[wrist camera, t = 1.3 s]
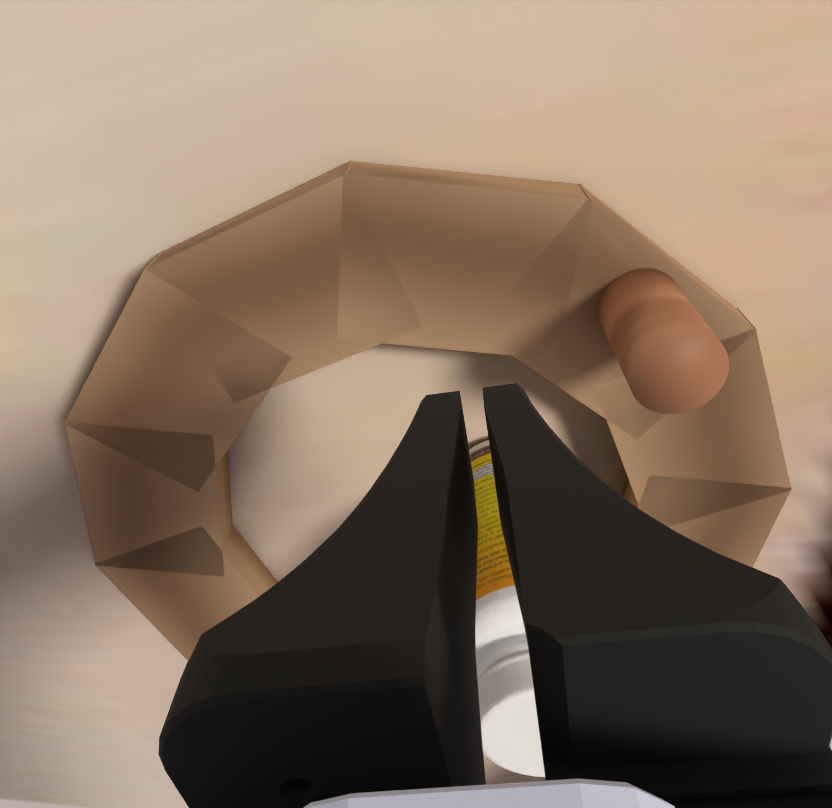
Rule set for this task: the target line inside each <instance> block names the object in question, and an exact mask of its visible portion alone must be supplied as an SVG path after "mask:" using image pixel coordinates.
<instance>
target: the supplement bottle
mask: <svg viewBox="0 0 832 808" xmlns="http://www.w3.org/2000/svg"><path fill="white" fill-rule="evenodd" d="M469 453H470V459H471V465H472V472H473V478H474V487H475V498H476V509H477V520H478V549H477V585H476V620H475V647H476V666H477V680H478V693H479V707H480V720H481V733H482V746H483V753H484V754H485V755H486V756H487V757H488V758H489V759H490V760H491V761H493V762H494V763H495V764H497V765H499V766H501V767H503V768H504V769H507V770H509V771H512V772H515V773H519V774H523V775H528V776H535V777H545V772H544V764H543V757H542V749H541V741H540V734H539V726H538V718H537V711H536V703H535V695H534V688H533V680H532V672H531V665H530V657H529V650H528V644H527V639H526V633H525V628H524V623H523V619H522V614H521V610H520V606H519V601H518V597H517V593H516V588H515V584H514V580H513V575H512V571H511V567H510V562H509V558H508V553H507V549H506V545H505V540H504V536H503V532H502V527H501V522H500V515H499V508H498V501H497V494H496V487H495V480H494V472H493V465H492V458H491V451H490V444H489V440H487V441H484V442H482V443H480V444H478V445H476V446H474V447H473V448H471V449H470V450H469Z"/></svg>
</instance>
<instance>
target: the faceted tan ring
mask: <svg viewBox="0 0 832 808" xmlns="http://www.w3.org/2000/svg"><path fill="white" fill-rule="evenodd" d="M756 331H757V330H756V329H755V327H754V326H753V325H752V324H751V323H750V322H749V321H748V319H747V318H746V317H745V316H744V315H743V314H742V313H741V311H740V310H739V309H738V308H736V307H734V306H733V305H732V304H731V303H729V302H728V301H727V300H726V299H724V298H723V297H722V296H721V295H719V294H718V293H717V292H715V291H714V290H713V289H712V288H710V287H709V286H708V285H707V284H705V283H704V282H703V281H702V280H700V279H699V278H698V277H697V276H695V275H694V274H693V273H692V272H690V271H689V270H688V269H686V268H685V267H684V266H683V265H681V264H680V263H679V262H678V261H676V260H675V259H674V258H673V257H671V256H670V255H669V254H668V253H666V252H665V251H664V250H663V249H661V248H660V247H659V246H657V245H656V244H655V243H654V242H652V241H651V240H650V239H649V238H647V237H646V236H645V235H644V234H642V233H641V232H640V231H639V230H637V229H636V228H635V227H634V226H632V225H631V224H630V223H628V222H627V221H626V220H625V219H623V218H622V217H621V216H620V215H618V214H617V213H616V212H615V211H613V210H612V209H611V208H610V207H608V206H607V205H606V204H605V203H603V202H602V201H601V200H599V199H598V198H597V197H596V196H594V195H593V194H592V193H591V192H589V191H588V190H587V189H586V188H584V187H583V185H581V184H571V183H561V182H551V181H541V180H531V179H522V178H512V177H502V176H492V175H482V174H472V173H463V172H453V171H443V170H433V169H423V168H414V167H404V166H394V165H384V164H374V163H364V162H355V161H349V162H348V163H346V164H344V165H342V166H340V167H338V168H336V169H333V170H331V171H329V172H327V173H325V174H323V175H321V176H319V177H317V178H315V179H313V180H311V181H309V182H306V183H304V184H302V185H300V186H298V187H296V188H294V189H292V190H290V191H288V192H286V193H284V194H282V195H279V196H277V197H275V198H273V199H271V200H269V201H267V202H265V203H263V204H261V205H259V206H257V207H255V208H253V209H250V210H248V211H246V212H244V213H242V214H240V215H238V216H236V217H234V218H232V219H230V220H228V221H226V222H223V223H221V224H219V225H217V226H215V227H213V228H211V229H209V230H207V231H205V232H203V233H201V234H199V235H196V236H194V237H192V238H190V239H188V240H186V241H184V242H182V243H180V244H178V245H176V246H174V247H172V248H170V249H167V250H165V251H163V252H161V253H159V254H158V255H157V257H156V258H155V259H154V260H153V261H152V262H151V263H150V264H149V265H148V266H147V267H146V268H145V269H144V270H143V273H142V274H141V276H140V278H139V280H138V282H137V284H136V286H135V288H134V290H133V292H132V294H131V296H130V298H129V300H128V301H127V303H126V305H125V307H124V309H123V311H122V313H121V315H120V317H119V319H118V321H117V323H116V325H115V326H114V328H113V330H112V332H111V334H110V336H109V338H108V340H107V342H106V344H105V346H104V348H103V350H102V352H101V353H100V355H99V357H98V359H97V361H96V363H95V365H94V367H93V369H92V371H91V373H90V375H89V377H88V378H87V380H86V382H85V384H84V386H83V388H82V390H81V392H80V394H79V396H78V398H77V400H76V402H75V404H74V405H73V407H72V409H71V411H70V413H69V415H68V417H67V419H66V420H65V421H64V424H65V427H66V432H67V437H68V441H69V446H70V450H71V455H72V459H73V464H74V468H75V473H76V478H77V482H78V487H79V491H80V496H81V500H82V505H83V510H84V514H85V519H86V523H87V528H88V532H89V537H90V541H91V546H92V551H93V555H94V560H95V565H96V566H97V567H98V568H99V569H100V570H101V571H102V572H103V573H104V574H105V575H106V576H107V577H108V578H109V579H110V580H111V581H112V582H113V583H114V584H115V585H116V586H117V587H118V589H119V590H120V591H121V592H122V593H123V594H124V595H125V596H126V597H127V598H128V599H129V600H130V601H131V602H132V603H133V604H134V605H135V606H136V607H137V608H138V609H139V610H140V611H141V612H142V613H143V614H144V615H145V617H146V618H147V619H148V620H149V621H150V622H151V623H152V624H153V625H154V626H155V627H156V628H157V629H158V630H159V631H160V632H161V633H162V634H163V635H164V636H165V637H166V638H167V639H168V640H169V641H170V642H171V643H172V645H173V646H174V647H175V648H176V649H177V650H178V651H179V652H180V653H181V654H182V655H183V656H184V657H185V658H186V659H187V660H188V661H189V659H190V657H191V655H192V653H193V651H194V649H195V647H196V645H197V642H198V640H199V638H200V636H201V634H202V633H204V632H206V631H207V630H209V629H211V628H212V627H214V626H215V625H217V624H218V623H220V622H222V621H223V620H225V619H226V618H228V617H229V616H231V615H232V614H234V613H235V612H237V611H238V610H240V609H241V608H243V607H244V606H246V605H248V604H249V603H251V602H252V601H253V600H255V599H256V598H258V597H259V596H260V595H262V594H263V593H265V592H266V591H267V590H269V589H270V588H271V587H272V586H274V585H275V584H276V583H278V582H277V580H276V579H275V578H274V577H273V575H272V574H271V573H270V571H269V570H268V569H267V568H266V566H265V565H264V564H263V563H262V561H261V560H260V559H259V558H258V556H257V555H256V554H255V552H254V551H253V550H252V549H251V547H250V546H249V545H248V544H247V542H246V541H245V540H244V538H243V537H242V536H241V535H240V533H239V532H238V531H237V530H236V528H235V527H234V526H233V525H232V514H231V499H230V484H229V470H228V455H227V450H228V449H229V447H230V446H231V445H232V443H233V442H234V440H235V439H236V437H237V436H238V435H239V433H240V432H241V430H242V429H243V427H244V426H245V425H246V423H247V422H248V420H249V419H250V417H251V416H252V414H253V413H254V412H255V410H256V409H257V407H258V406H259V404H260V403H261V402H262V400H263V399H264V397H265V396H266V394H267V393H268V392H269V390H270V389H271V388H272V387H275V386H277V385H280V384H282V383H285V382H287V381H290V380H292V379H295V378H297V377H300V376H302V375H305V374H307V373H310V372H312V371H315V370H317V369H320V368H322V367H324V366H327V365H329V364H332V363H334V362H337V361H339V360H342V359H344V358H347V357H349V356H352V355H354V354H357V353H359V352H362V351H364V350H367V349H369V348H372V347H374V346H377V345H379V344H381V343H385V344H395V345H406V346H416V347H427V348H437V349H448V350H458V351H469V352H479V353H490V354H500V355H511V356H512V357H514V358H515V359H517V360H518V361H520V362H521V363H523V364H524V365H526V366H527V367H529V368H530V369H532V370H533V371H535V372H536V373H538V374H539V375H541V376H542V377H544V378H545V379H547V380H548V381H550V382H551V383H553V384H554V385H556V386H557V387H559V388H560V389H562V390H563V391H565V392H566V393H568V394H569V395H571V396H572V397H574V398H575V399H577V400H578V401H580V402H581V403H583V404H584V405H586V406H587V407H588V408H590V409H591V410H593V411H594V412H596V413H597V414H599V415H600V416H602V417H603V418H605V419H606V420H607V423H608V426H609V428H610V431H611V433H612V436H613V439H614V441H615V444H616V447H617V449H618V452H619V455H620V457H621V460H622V463H623V465H624V468H625V471H626V473H627V476H628V479H629V480H628V483H627V486H626V489H625V492H624V495H623V498H625V499H626V500H627V501H629V502H630V503H632V504H633V505H634V506H636V507H637V508H639V509H640V510H641V511H643V512H645V513H646V514H648V515H649V516H651V517H653V518H654V519H656V520H658V521H659V522H661V523H662V524H664V525H666V526H667V527H669V528H671V529H672V530H674V531H676V532H678V533H679V534H681V535H683V536H685V537H687V538H689V539H691V540H693V541H695V542H697V543H699V544H701V545H703V546H705V547H706V548H708V549H710V550H712V551H714V552H717V553H719V554H721V555H723V556H726V557H728V558H730V559H733V560H735V561H738V562H740V563H743V564H745V565H747V566H750V567H753V565H754V563H755V561H756V559H757V557H758V555H759V553H760V551H761V549H762V547H763V545H764V543H765V541H766V539H767V537H768V535H769V533H770V531H771V529H772V527H773V525H774V523H775V521H776V519H777V517H778V515H779V513H780V511H781V509H782V507H783V505H784V503H785V501H786V499H787V497H788V495H789V492H790V490H791V486H790V482H789V477H788V473H787V468H786V464H785V459H784V455H783V450H782V446H781V441H780V437H779V432H778V428H777V423H776V419H775V414H774V410H773V405H772V401H771V396H770V392H769V387H768V383H767V378H766V374H765V369H764V365H763V360H762V356H761V351H760V347H759V342H758V338H757V333H756Z"/></svg>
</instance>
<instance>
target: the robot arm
mask: <svg viewBox="0 0 832 808" xmlns="http://www.w3.org/2000/svg"><path fill="white" fill-rule="evenodd" d="M483 398H484V408H485V416H486V423H487V430H488V437H489V444H490V451H491V458H492V465H493V472H494V480H495V487H496V494H497V501H498V508H499V515H500V522H501V527H502V532H503V536H504V540H505V545H506V549H507V553H508V558H509V562H510V567H511V571H512V575H513V580H514V584H515V588H516V593H517V597H518V601H519V606H520V610H521V614H522V619H523V623H524V628H525V633H526V639H527V644H528V650H529V657H530V665H531V672H532V680H533V688H534V695H535V703H536V711H537V718H538V726H539V734H540V741H541V749H542V757H543V764H544V772H545V779H546V781H534V782H518V783H503V784H488V785H486V783H485V771H484V758H483V746H482V733H481V720H480V707H479V693H478V680H477V666H476V647H475V620H476V585H477V549H478V520H477V509H476V498H475V487H474V478H473V472H472V465H471V459H470V453H469V447H468V440H467V434H466V428H465V422H464V416H463V409H462V403H461V397H460V391H455V392H447V393H440V394H432V395H426V396H425V398H424V399H423V400H422V401H421V403H420V406H419V408H418V410H417V412H416V414H415V416H414V418H413V420H412V422H411V424H410V426H409V428H408V430H407V432H406V434H405V436H404V438H403V439H402V441H401V443H400V444H399V446H398V448H397V449H396V451H395V453H394V454H393V456H392V458H391V459H390V461H389V463H388V464H387V466H386V467H385V469H384V470H383V472H382V473H381V474H380V476H379V477H378V479H377V480H376V482H375V483H374V485H373V486H372V487H371V489H370V490H369V492H368V493H367V494H366V496H365V497H364V498H363V499H362V501H361V502H360V503H359V505H358V506H357V507H356V508H355V509H354V511H353V512H352V513H351V514H350V515H349V517H348V518H347V519H346V520H345V521H344V522H343V523H342V525H341V526H340V527H339V528H338V529H337V530H336V531H335V532H334V533H333V534H332V535H331V536H330V537H329V538H328V539H327V540H326V541H325V542H324V543H323V544H322V545H320V546H319V547H318V548H317V549H316V550H315V551H314V552H313V553H312V554H311V555H310V556H309V557H308V558H307V559H306V560H305V561H303V562H302V563H301V564H300V565H299V566H298V567H296V568H295V569H294V570H293V571H291V572H290V573H289V574H288V575H287V576H285V577H284V578H283V579H282V580H280V581H279V582H278V583H276V584H275V585H274V586H272V587H271V588H270V589H269V590H267V591H266V592H265V593H263V594H262V595H260V596H259V597H258V598H256V599H255V600H253V601H252V602H251V603H249V604H248V605H246V606H244V607H243V608H241V609H240V610H238V611H237V612H235V613H234V614H232V615H231V616H229V617H228V618H226V619H225V620H223V621H222V622H220V623H218V624H217V625H215V626H214V627H212V628H211V629H209V630H207V631H206V632H204V633H202V634H201V636H200V638H199V640H198V642H197V645H196V647H195V649H194V651H193V653H192V655H191V657H190V659H189V661H188V663H187V665H186V667H185V670H184V672H183V675H182V677H181V679H180V682H179V685H178V687H177V690H176V693H175V696H174V698H173V701H172V704H171V707H170V709H169V712H168V715H167V718H166V721H165V723H164V726H163V729H162V732H161V734H160V737H159V756H160V759H161V761H162V763H163V766H164V768H165V771H166V773H167V774H168V776H169V777H170V779H171V780H172V782H173V783H174V785H175V787H176V788H177V790H178V791H179V793H180V794H181V796H182V797H183V799H184V800H185V802H186V804H187V805H188V807H189V808H832V650H831V648H830V646H829V644H828V643H827V641H826V639H825V638H824V636H823V634H822V633H821V631H820V630H819V628H818V627H817V625H816V624H815V623H814V621H813V620H812V619H811V617H810V616H809V615H808V613H807V612H806V611H805V610H804V608H803V607H802V606H801V604H800V603H799V602H798V600H797V599H796V598H795V597H794V595H793V594H792V593H791V591H790V590H789V589H788V588H787V586H786V585H785V584H784V583H783V581H782V580H780V579H779V578H776V577H774V576H772V575H769V574H767V573H764V572H762V571H759V570H757V569H755V568H752V567H750V566H747V565H745V564H743V563H740V562H738V561H735V560H733V559H730V558H728V557H726V556H723V555H721V554H719V553H717V552H714V551H712V550H710V549H708V548H706V547H705V546H703V545H701V544H699V543H697V542H695V541H693V540H691V539H689V538H687V537H685V536H683V535H681V534H679V533H678V532H676V531H674V530H672V529H671V528H669V527H667V526H666V525H664V524H662V523H661V522H659V521H658V520H656V519H654V518H653V517H651V516H649V515H648V514H646V513H645V512H643V511H641V510H640V509H639V508H637V507H636V506H634V505H633V504H632V503H630V502H629V501H627V500H626V499H625V498H623V497H622V496H621V495H619V494H618V493H617V492H616V491H614V490H613V489H612V488H611V487H609V486H608V485H607V484H606V483H604V482H603V481H602V480H601V479H600V478H599V477H598V476H596V475H595V474H594V473H593V472H592V471H591V470H590V469H589V468H588V467H587V466H586V465H585V464H584V463H583V462H581V461H580V460H579V459H578V458H577V457H576V456H575V455H574V454H573V453H572V452H571V451H570V449H569V448H568V447H567V446H566V445H565V444H564V443H563V442H562V441H561V440H560V438H559V437H558V436H557V435H556V434H555V433H554V432H553V430H552V429H551V428H550V427H549V426H548V424H547V423H546V422H545V421H544V419H543V418H542V417H541V415H540V414H539V413H538V411H537V410H536V409H535V407H534V406H533V404H532V403H531V401H530V400H529V398H528V396H527V395H526V393H525V391H524V388H522V387H521V386H520V385H518V384H517V383H516V384H508V385H501V386H493V387H485V388H483Z"/></svg>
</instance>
